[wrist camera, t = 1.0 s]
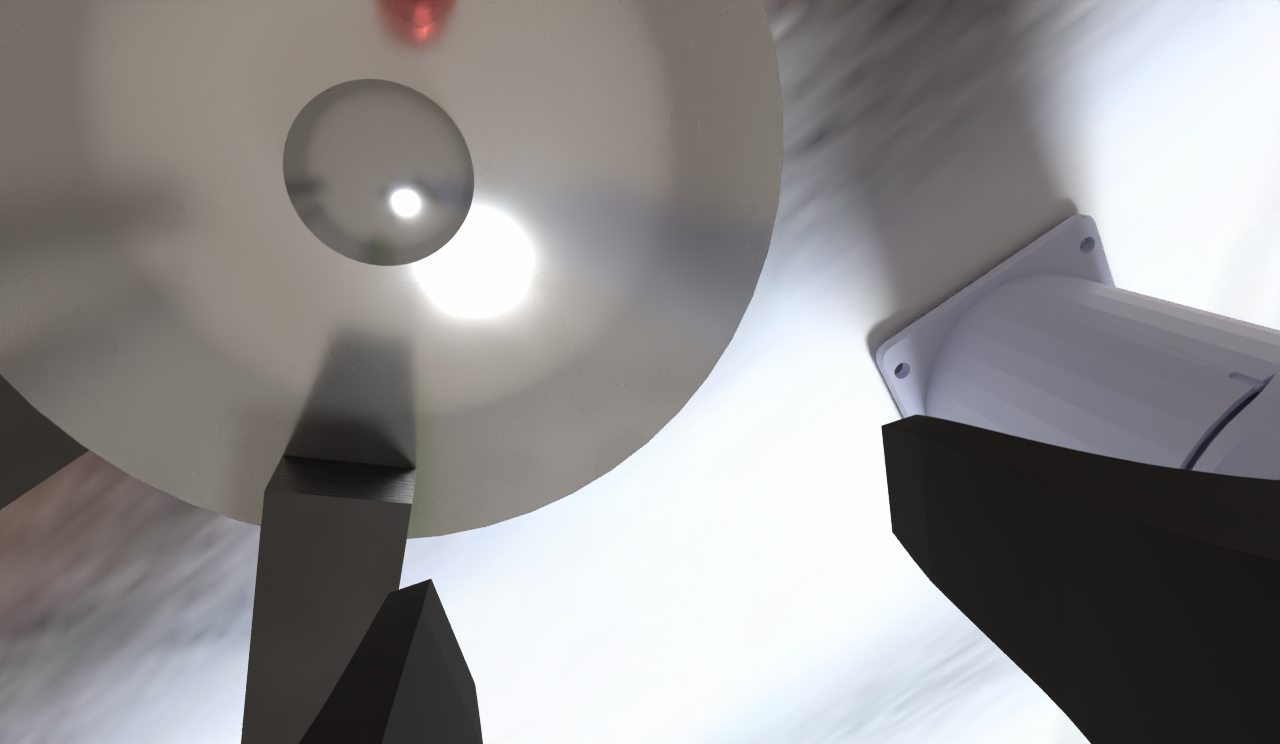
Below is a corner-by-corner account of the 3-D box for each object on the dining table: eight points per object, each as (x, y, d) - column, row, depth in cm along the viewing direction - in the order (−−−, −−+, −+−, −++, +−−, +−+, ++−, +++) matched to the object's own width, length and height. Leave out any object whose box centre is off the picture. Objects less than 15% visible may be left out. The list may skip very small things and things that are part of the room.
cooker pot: (475, -332, 15) (483, -526, 10) (770, 232, 21) (859, 267, 16) (-332, 204, 15) (-683, 244, 10) (186, 626, 20) (107, 774, 16)
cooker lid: (-140, -552, 9) (-315, -747, 7) (859, -146, 13) (932, -193, 11) (-67, 741, 15) (-152, 841, 13) (617, 739, 19) (636, 814, 17)
